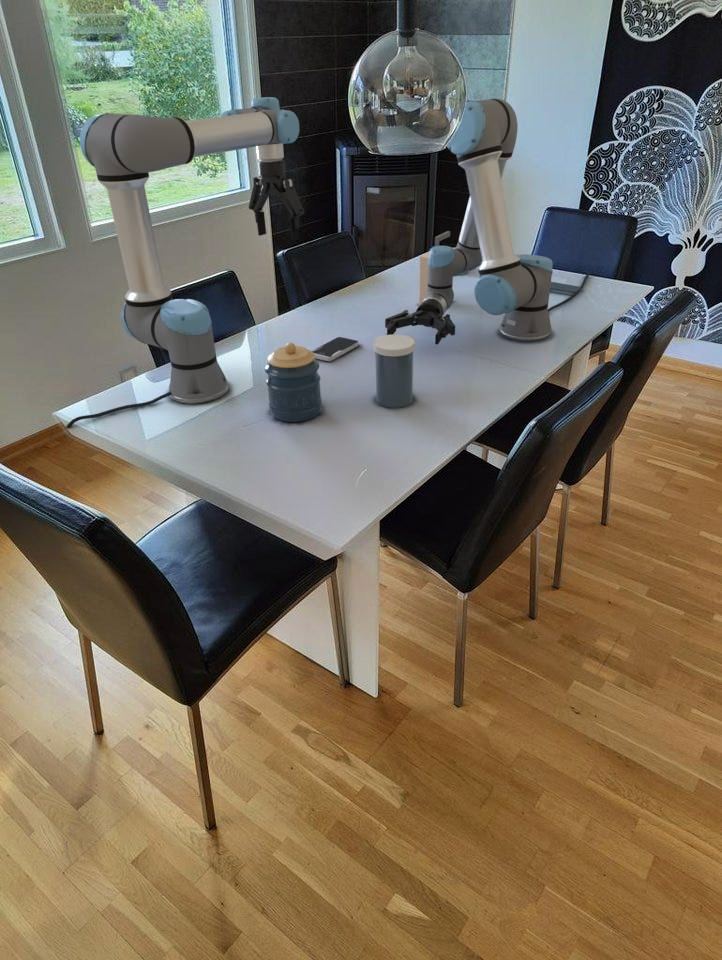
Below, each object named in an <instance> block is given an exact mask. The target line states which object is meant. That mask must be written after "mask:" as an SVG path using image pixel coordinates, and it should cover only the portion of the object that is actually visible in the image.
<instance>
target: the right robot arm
mask: <svg viewBox="0 0 722 960" xmlns="http://www.w3.org/2000/svg"><path fill="white" fill-rule="evenodd" d="M465 103H466V106H465V110H464V114H463V118H462V121H461V124H460V126H459V128H458V130H457V131H456V133H455V135H454V136H453V138H452V139H451V141H450V142H449V143H448V145H447V146H446V147H447V149H448V150H449V151H450V152H451V153H452V154H454V155H456V159H457V164H458V166H459V167H461V168H462V169H464V171H465V176H466V181H467V186H468V192H469V197H468V201H467V206H466V210H465V214H464V217H463V220H462V221H463V222H462V225H461V229H460V232H459V236H458V241H457V244H456V247H457V248H456V247H455V248H456V249H453V248H454V247H451V246H448V245H439V246H435V245H434V246H435V247H434V246H432V247H433V248H432V247H431V248H430V249H429V251H428V252H429V260H428V285H427V296H426V298H425V299H424V300H423V301H422V303H421V304H420V305H419V304H418V307H417V308H416V310H415V311H414V312H412V313H410V312H409V310H408V309H405V310H403V311H402V312H399V313H396V314H393V315H392V316H389V317H386V318H385V319H384V328H385V329H386V335H394V334H395V333H396V331H397V329H401V328H404V327H409V326H411V327H416V326H423V327H426V328H432V329H435V330H436V331H437V332H436V333H435V335H434V337H435V338H434V339H435V340H434V344H435V345H439V344H440V342H441V340H442V339H445V338H446V337H447V336H449V335H451V336H456V325H455V323H454V322H453V321H452V319H451V315H450V314H446V312H447V311H448V309H450V308H451V306H452V304H453V303H454V299H455V292H454V290H453V289H452V281H453V282H454V277H456V276H458V275H462V274H461V273H464V272H466V273H467V272H470V271H473V270H475V269H477V268H478V269H477V270H478V276H479V279H477V281H476V284H475V285H474V298H475V301H476V303H477V304H478V306H479V308H481V310H483V311H484V312H485V313H486V314H488V315H491V316H502V315H504V316H503V318H502V321H501V322H500V326H499V334H500V335H501V336H502V337H504V338H505V339H507V340H511V341H515V342H522V343H533V342H540V341H545V340H546V339H549V338H550V337H551V335H552V323H551V320H550V312H551V311H552V310H554V309H556V308H558V307H561V306H562V305H564V304H566V303H568V302H569V301H572V299H574V298H575V297H577V295H578V294H579V293H580V292H581V291H579V292H577V293H575V294H573V295H570V296H569V297H567V298H566V299H565V300H563V301H561V302H559V303H557V304H555V305H553V306H551V307H549V301H550V293H551V291H550V286H551V282H552V278H553V277H552V276H553V273H554V271H553V266H554V265H553V264H554V263H553V260H552V259H551V258H549V257H547V256H542V255H536V254H524V253H523V254H522V253H521V254H515V253H514V248H513V241H512V237H511V231H510V225H509V220H508V219H509V218H508V214H507V213H508V212H507V207H506V201H505V196H504V189H503V183H502V180H503V179H502V178H503V176H504V172H505V168H506V165H507V161H508V160H510V159H511V158H512V157H513V153H514V151H515V146H516V143H517V137H518V128H519V127H518V118H517V114H516V112H515V110H514V108H513V106H512V105H511V104H510V103H509V102H508V101H506V100H505V99H502V98H489V99H482V100H481V99H480V100H470V101H467V102H465ZM464 274H465V273H464ZM590 274H591V271H590V270H588V271H587V273H586V275H585V277H584V279H583V281H582V283H581V285H580V287H581V290H582V289H583V288H584V287H585V284H586V282H587V279H588V277H589V276H590Z"/></svg>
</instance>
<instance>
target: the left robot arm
mask: <svg viewBox="0 0 722 960" xmlns="http://www.w3.org/2000/svg"><path fill="white" fill-rule="evenodd" d="M299 135H300V121H299V118H298V116H297V115H296V113H295V112H293V111H292V110H286V109H281V108H280V101H279V99H278V98H277V97H273V96H265V97H255V98H252V99H251V106H250V107H248V108H236V109H235V108H234V109H233V108H231V109H230V110H225V111H223V112H222V113H220V116H213V117H206V118H199V119H190V120H185V119H184V118H182V117H180V116H171V117H165V116H164V117H163V116H161V117H160V116H152V115H145V114H136V113H134V114H130V113H129V114H128V113H115V112H114V113H113V112H105V113H99V114H95V115H92V116H91V117H90V118H88V119H87V120H86V121H85V122H84V124H83V126H82V128H81V131H80V135H79V145H80V151H81V154H82V155H83V158H84V159H85V160H86V162H88V163H89V164H90V166H92V167H93V168H94V169H95V172H96V173H95V174H96V178H97V181H98V183H99V184H100V185H102V186H103V187H104V188H105V189H106V191H107V195H108V200H109V206H110V209H111V213H112V218H113V223H114V228H115V232H116V236H117V240H118V245H119V250H120V254H121V258H122V259H121V260H122V263H123V267H124V273H125V277H126V282H127V286H128V290H127V292H126V293H125V295H124V300H125V302H124V303H123V308H122V309H121V310H120V311H121V312H120V319H121V324H122V327H123V328H124V330H125V332H126V333H127V334H128V335H129V336H130V337H131V338H133V340H136V341H138V342H140V343H142V344H143V345H144V344H145V345H151V346H154V347H157V348H160V349H163V350H167V352H168V356H169V361H170V367H171V369H170V370H171V371H170V377H169V386H168V392H166V393H164V394H162V395H159V396H158V397H155V398H154V399H152V400H148V401H145V402H139V403H132V404H125V405H122V406H118V407H114V408H111V409H107V410H105V411H101V412H98V413H94V414H93V413H92V414H87V415H80V416H77V417H75V418H73V419H71V420H70V421H69V422H68V423H67V425H66V426H65V429H70V428H71V427H72V426H73V425H74V424H75V423H77V422H79V421H82V420H87V419H95V418H100V417H103V416H106V415H109V414H112V413H115V412H119V411H122V410H127V409H133V408H140V407H146V406H151V405H153V404H155V403H157V402H159V401H161V400H163V399H165V398H168V397H170V398H171V400H173V401H175V402H177V403H180V404H188V405H189V404H190V405H196V404H197V405H198V404H204V403H208V402H212V401H214V400H217V399H219V398H221V397H223V396H224V395H225V394H227V392H228V391H229V383H228V379H227V378H226V375H225V374H224V372H223V370H222V368H221V366H220V363H219V362H218V358H217V352H216V346H215V338H214V331H213V326H212V325H213V324H212V319H211V315H210V310H209V309H208V308H207V306H206V305H205V304H204V303H202V302H200V301H198V300H195V299H191V298H187V299H184V298H177V299H173V294H172V291H171V289H170V288H168V287H167V286H166V285H165V284H164V280H163V273H162V270H161V263H160V258H159V254H158V253H159V252H158V249H157V248H158V247H157V243H156V238H155V232H154V229H153V223H152V218H151V212H150V208H149V203H148V198H147V193H146V187H145V186H146V183H147V182H148V180H149V179H150V173H153V172H158V171H162V170H166V169H170V168H175V167H178V166H183V165H187V164H190V163H191V162H193V160H194V158H199V157H205V156H210V155H215V154H221V153H227V152H232V151H237V150H243V149H249V148H255V147H256V157H257V160H259V161H258V163H257V166H258V174H259V175H258V176H254V177H253V179H252V181H253V182H252V183H253V186H252V190H251V195H250V198H249V203H248V209H249V210H251V211H253V213H254V219H255V223H256V225H257V226H256V227H257V235H258V236H264V235H267V227H266V226H267V225H266V218H265V211H264V210H263V208H264V206H265V204H266V203H267V201H268V198H269V197H270V196H274V197H277V198H278V199H280V200H281V202H282V204H283V206H285V208H286V210H287V211H288V213H289V215H290V217H289V227H290V229H289V230H290V239H291V240H290V241H292V242H295V241H297V240H300V227H301V223H300V222H301V221H300V216H303V215H305V214H306V213H305V210H304V206H303V205H302V202H301V200H300V197H299V195H298V193H297V190H296V188H295V182H294V179H292V178H290V179H285V175H286V163H285V162H286V161H285V159H284V158H285V154H284V145H286V144H292V143H294V142H295V141H296V140H297V139H298V137H299Z"/></svg>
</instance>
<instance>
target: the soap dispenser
mask: <svg viewBox="0 0 722 960" xmlns="http://www.w3.org/2000/svg"><path fill="white" fill-rule="evenodd" d="M450 237H451V231H450V230H446V231H445V232H442V233H440V234H439V235H437V236H436V235H435V236H434V246H432V247H431V248H433V247H435V246H440V242H441V241H443V240H445V239H447V238H450ZM428 260H429V251H428V252H426V253H424V254H422V255H419V267H418V268H419V270H418V271H419V273H418V274H419V276H418V278H419V279H418V306H419V305H420V304H421V303H422V301H423V300H424V299H425V298H426V296H427V285H428ZM453 287H454V280H453V281H452V289H453Z"/></svg>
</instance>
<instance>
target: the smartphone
mask: <svg viewBox="0 0 722 960" xmlns="http://www.w3.org/2000/svg"><path fill="white" fill-rule="evenodd" d="M357 347H359V340H356V339H351V338H347V337H343V336H337V337H335V338H333V339H332V340H329V341H328V342H325V343H324V344H322V345H320V346H318V347H317V348H314V349H313V350H311V351H312V352H313V353H314V354H315V360H319V361H320V360H321V361H325V362H332V361H334V360H336V359H337V358H340V357H341V356H343V355H344V354H346V353H349V352H350V351H351V350H353V349H355V348H357Z"/></svg>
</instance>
